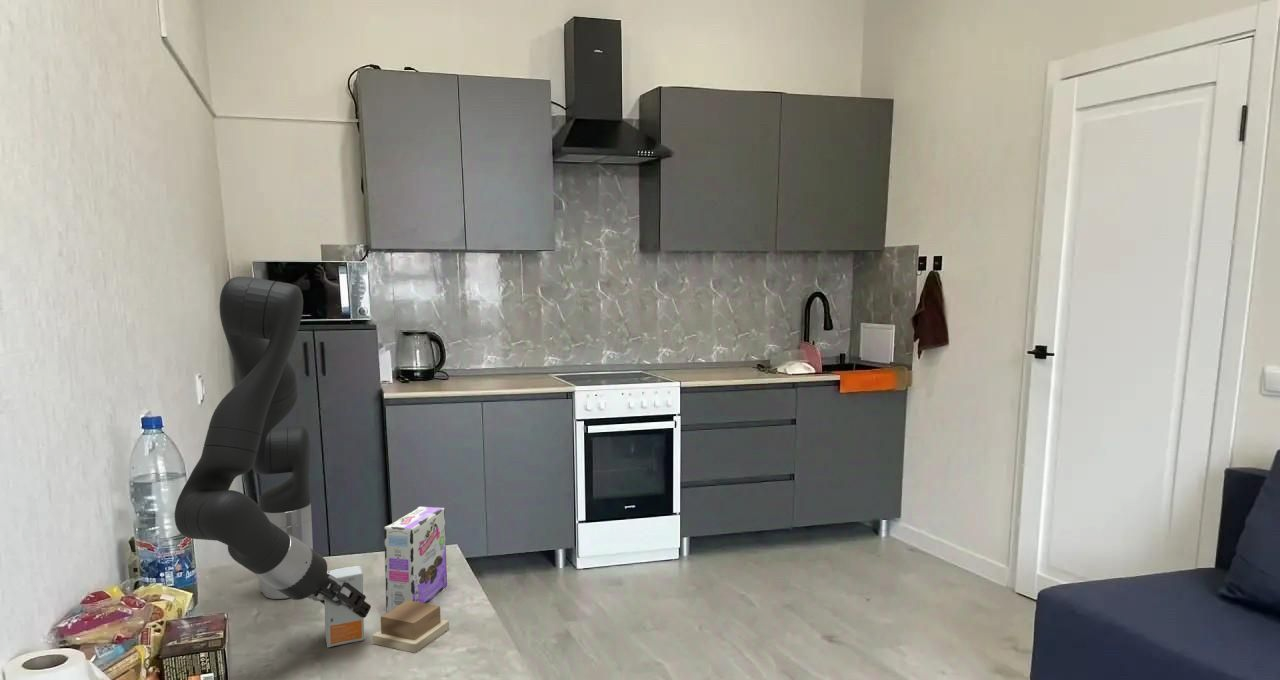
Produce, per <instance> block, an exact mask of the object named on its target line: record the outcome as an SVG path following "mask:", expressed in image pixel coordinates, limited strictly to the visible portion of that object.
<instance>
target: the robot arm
mask: <svg viewBox="0 0 1280 680" xmlns="http://www.w3.org/2000/svg"><path fill="white" fill-rule="evenodd" d="M303 311H304V297H303V293H302V290H301V288H300V286H298V285H296V284H293V283H292V284H291V283H288V282H282V281H276V280H269V279H264V278H257V277H254V276H253V277H252V276H234V277H232V278H230V279H228V280H227V281H226V282H225V283H224V285H223V287H222V289H221V292H220V297H219V317H220V322H221V326H222V328H223V332H224V335H225V339H226V342H227V345H228V347H229V350H230V353H231V356H232V359H233V363H234V369H235V375H236V385H235V386H234V387H232V389H231V390H230V391H229V392H228V393H227V394H226V395H225V396H224V397H223V398H222V399H221V400H220V401H219V403H218V404H217V406H216V408H215V409H214V411H213V413H212V416H211V419H210V422H209V424H208V428H207V431H206V435H205V440H204V444H203V447H202V452H201V456H200V458H199V460H198V462H197V463H196V465H194V466H195V467H194V468H193V469H192V471H191V473H190V475H189V477H188V479H187V481H186V483H185V484H184V486H183V488H182V489H181V492H180V494H179V496H178V498H177V500H176V503H175V508H174V509H175V510H174V523H175V526H176V529H177V531H178V532H179V533H180V534H181V535H182V536H184V537H186V538H188V539H192V540H204V541H215V542H216V541H218V542H219V543H222V544H224V545H225V546H227V550H228V551H227V552H228V554H229V556H230V557H231V558H232V559H233V560H234V561H235V562H237V563H238V564H239V565H240V566H242V567H244V568H245V569H247V570H249V571H250V572H251V573H253V574H254V575H256V576H257V577H258V580H259V581H258V582H259V592H260V593H262V594H263V596H264V597H265V598H268V599H271V600H273V599H274V600H280V599H281V600H283V599H291V600H295V601H296V600H298V601H299V600H303V599H310V600H312V601H315V602H320V603H321V604H323V605H324V606H325V604H324V601H326V602H328V603H330V604H332V605H334V606H343V607H345V608H347V609H348V610H350V611H353V612H354V613H356V614H357V615H358V616H360V617H363V618H364V619H365V618H366V617H367V616H368V614H369V612H370V611H371V607H372V606H371V604H369V603H368V602H367V601H365V600H366V599H367V596H366V595H365V594H364V593H363V594H362V593H361V592H359V591H358V590H357V589H355V588H354V587H353V586H351V585H350V584H349V583H348V582H344V583H342V582H340V581H338V580H337V579H336V577H334V576H332V575H330V574H327V571H328V563H327V560H326V559H325V557H323V556H322V555H320V554H319V553H318V552H316V551H315V550H314V548H313V547H314V546H313V545H314V544H313V525H312V524H313V523H312V519H313V518H312V499H311V486H310V484H311V483H310V482H311V481H310V461H311V441H310V434H309V430H308V429H307V427H306V426H304V425H302V424H301V425H300V424H299V425H298V424H295V425H282V426H281V425H280V426H277V425H278V424H280V423H281V422H282V421H284V419H285V418H286V417H287V416H288V415H289V414H290V413H291V411H292V410H293V408H294V407H295V405H296V403H297V399H298V384H297V382H298V381H297V375H296V371H295V368H294V366H293V365H292V364H291V362H290V361H289V360H288V359H289V356H290V353H291V351H292V348H293V347H294V342H295V340H296V337H297V336H298V332H299V327H300V325H301V321H302V317H303ZM251 470H253V472H254V473H256V474H258V475H266V476H267V475H276V474H278V475H279V474H285V473H286V474H287V473H292V475H291V476H290V478H288V479H287V480H286V481H284V482H282V483H280V484H279V485H276V486H275V487H272V488H269V489H267V490H265V491H263V493H261V494H260V496H259V500H258V503H259V504H258V503H257V502H256V501H255V500H254V499H252V497H249V496H248V495H246V494H244V493H243V492H241V491H238V490H232V489H231V490H230V488H231V486H232V484H233V481H234V480H235V479H236V478H237V477H238V476H241V475H244V474H247V473H248V472H250V471H251ZM336 594H337V595H336ZM335 596H336V597H337V600H336V601H334V600H333V598H334V597H335Z"/></svg>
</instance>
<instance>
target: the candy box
mask: <svg viewBox="0 0 1280 680" xmlns="http://www.w3.org/2000/svg"><path fill="white" fill-rule="evenodd" d="M445 509H446V508H445V507H438V506H437V507H435V506H418V507H417V508H416V509H414V510H412V511H410V512H409V513H407V514H406V515H404V516H402V517H400V518H399V519H397V520H395V521H393V522H392V523H390V524H388V525H386V526H384V528H383V530H384V531H383V533H384V534H383V535H384V536H383V537H384V569H385V570H384V572H385V575H384V576H385V606H386V607H385V608H386V609H385V610H386V611H385V612H386V613H387V612H389V611H390V610H392V609H394V608H395V607H397V606H399V605H400V604H402V603H404V602H405V601H407V600H411V601H416V602H421V603H427V604H428V603H429V601H431V600H432V599H433V598H434V597H435V596H437V595H438V594H439V593H440V592H441V591H443V589H445V587H447V586H448V577H447V576H448V573H447V569H448V568H447V543H446V540H447V539H446V514H445V513H446V511H445ZM446 585H447V586H446ZM438 592H439V593H438ZM437 593H438V594H437Z"/></svg>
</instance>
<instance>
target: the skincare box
mask: <svg viewBox="0 0 1280 680" xmlns="http://www.w3.org/2000/svg"><path fill="white" fill-rule="evenodd" d="M327 574H330V575H332V576H334V577H336V579H337V580H338V581H340V582H342V583H344V582H348V583H349V584H350V585H351V586H353V587H354V588H355V589H357V590H358V591H359V592H361V593H362V594H364V574H363V570H362V568H361V565H356V566H355V565H353V566H347V567H346V566H345V567H340V568H337V569H332V570H327ZM336 595H337V594H336ZM333 600H334V601H336V600H337V597H336V596H335V597H334V598H333ZM324 604H325V605H324ZM324 604H323V605H324V628H325V629H324V630H325V631H324V632H325V633H324V634H325V636H324V637H325V641H326V647H327V648H331V647H335V646H340V645H346V644H349V643H356V642H363V641H364V640H365V621H364V619H365V618H363V617H360V616H358V615H357V614H356V613H354V612H353V611H350V610H348V609H347V608H345V607H343V606H334V605H332V604H330V603H328V602H326V601H324Z"/></svg>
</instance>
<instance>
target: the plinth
mask: <svg viewBox="0 0 1280 680" xmlns="http://www.w3.org/2000/svg"><path fill="white" fill-rule="evenodd" d="M448 629H449V630H450V622H449V620H447V619H446V620H445V619H441V606H440V605H436V604H432V603H431V604H430V603H428V602H427V603H421V602H416V601H411V600H407V601H405V602H404V603H402V604H400V605H399V606H397V607H395V608H394V609H392V610H390V611H389V612H387V611H386V613H384V614H382V615H381V616H380V630H378V631H377V632H375V633H374V634H372V636H371V637H372V644H373V645H377V646H383V647H386V648H391V649H394V650H395V649H396V650H400V651H404V652H408V653H414V654H416V653H418V652H419V651H421V650H422V649H423V648H425V647H426V646H429V644H431V643H432V642H433V641H435V640H436V639H438V638H439V637H440V636H442V635H443V634H444V633H446V632H447V631H448ZM445 631H446V632H445ZM441 634H442V635H441Z"/></svg>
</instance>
